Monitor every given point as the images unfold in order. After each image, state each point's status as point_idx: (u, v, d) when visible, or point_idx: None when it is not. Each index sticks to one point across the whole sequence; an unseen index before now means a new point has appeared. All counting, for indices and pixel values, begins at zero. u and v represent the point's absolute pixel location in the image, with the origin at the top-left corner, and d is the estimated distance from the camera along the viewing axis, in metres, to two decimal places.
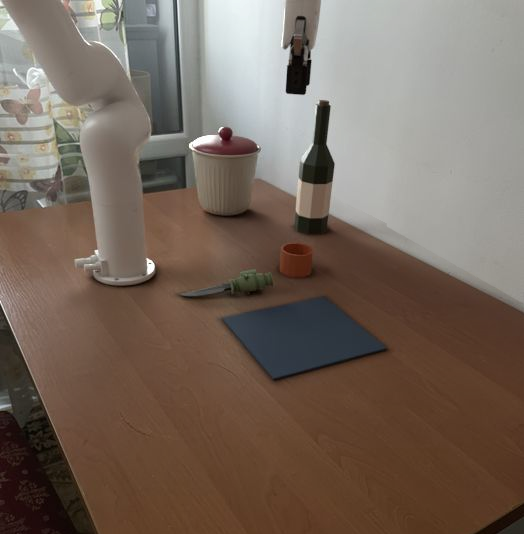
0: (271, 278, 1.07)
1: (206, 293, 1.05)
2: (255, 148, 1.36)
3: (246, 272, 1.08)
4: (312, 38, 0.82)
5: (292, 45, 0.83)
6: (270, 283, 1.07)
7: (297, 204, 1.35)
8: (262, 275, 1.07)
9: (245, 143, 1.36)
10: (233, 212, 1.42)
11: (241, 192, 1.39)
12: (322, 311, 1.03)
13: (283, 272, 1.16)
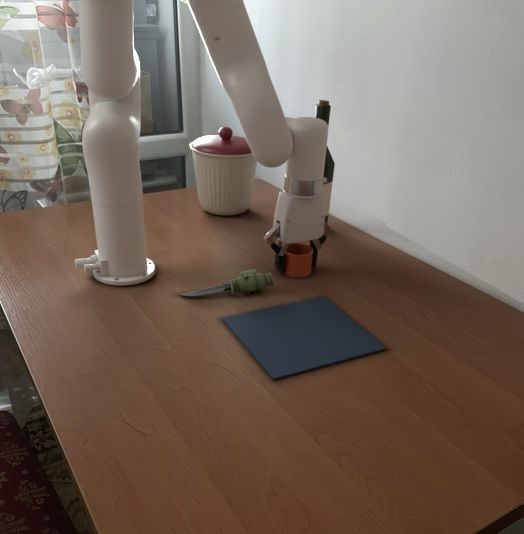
0: (271, 278, 1.07)
1: (206, 293, 1.05)
2: None
3: (246, 272, 1.08)
4: (283, 237, 1.10)
5: (279, 238, 1.13)
6: (270, 283, 1.07)
7: None
8: (262, 275, 1.07)
9: (245, 143, 1.36)
10: (233, 212, 1.42)
11: (241, 192, 1.39)
12: (322, 311, 1.03)
13: None
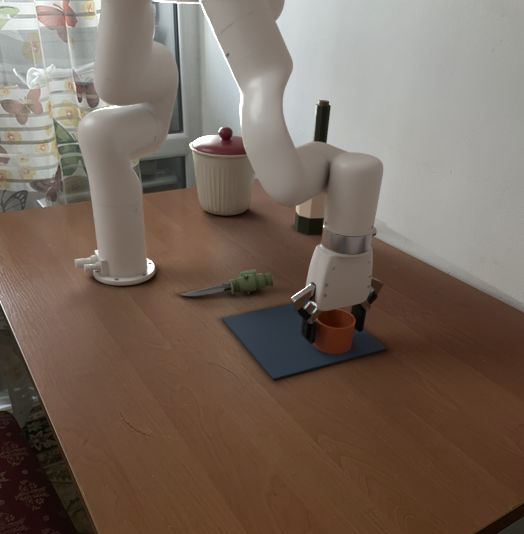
0: (271, 278, 1.07)
1: (206, 293, 1.05)
2: None
3: (246, 272, 1.08)
4: (320, 303, 0.85)
5: (310, 301, 0.88)
6: (270, 283, 1.07)
7: None
8: (262, 275, 1.07)
9: None
10: (233, 212, 1.42)
11: (241, 192, 1.39)
12: None
13: (317, 347, 0.92)
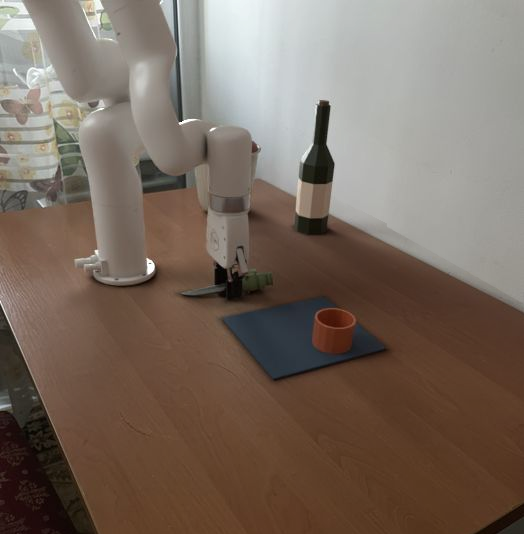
0: (271, 277, 1.07)
1: (206, 292, 1.06)
2: (255, 148, 1.36)
3: None
4: (248, 258, 1.00)
5: (230, 267, 1.01)
6: (270, 282, 1.08)
7: (297, 204, 1.35)
8: (262, 274, 1.07)
9: None
10: None
11: None
12: None
13: (317, 347, 0.92)
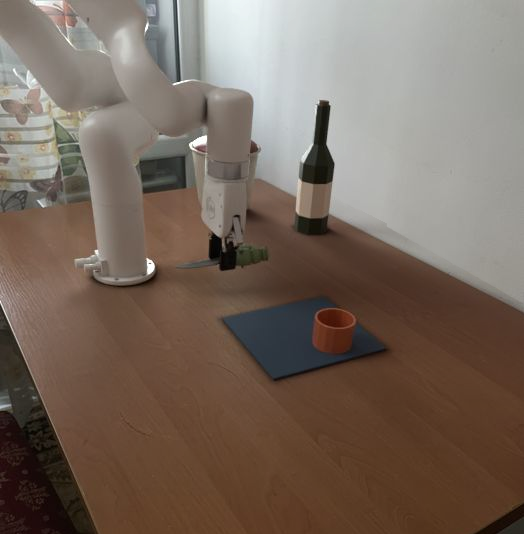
0: (266, 253, 1.05)
1: (199, 265, 1.03)
2: (255, 148, 1.36)
3: (241, 246, 1.06)
4: (244, 228, 0.97)
5: (225, 237, 0.98)
6: (265, 258, 1.05)
7: (297, 204, 1.35)
8: (257, 249, 1.05)
9: None
10: None
11: None
12: None
13: (317, 347, 0.92)
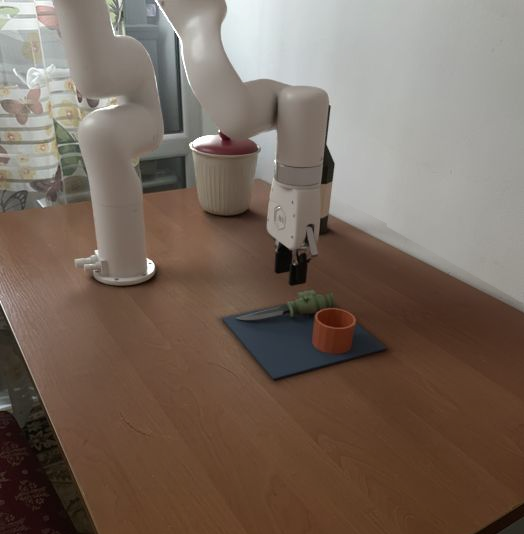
0: (332, 300, 1.00)
1: (264, 317, 0.98)
2: (255, 148, 1.36)
3: (305, 293, 1.01)
4: None
5: (297, 249, 0.90)
6: (331, 305, 1.00)
7: None
8: (322, 297, 1.00)
9: (245, 143, 1.36)
10: (233, 212, 1.42)
11: (241, 192, 1.39)
12: None
13: (317, 347, 0.92)
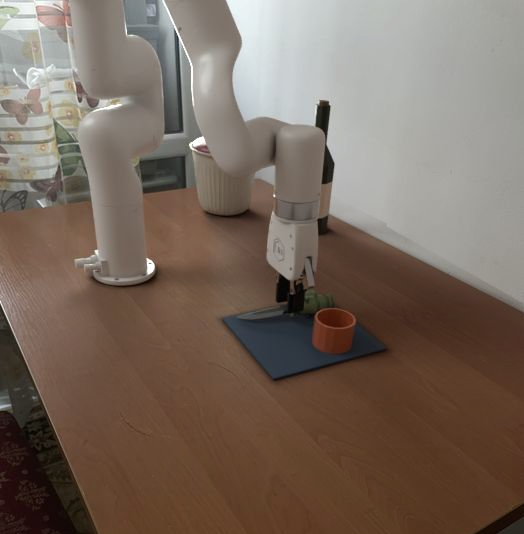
0: (333, 300, 1.00)
1: (264, 316, 0.98)
2: None
3: (305, 293, 1.01)
4: None
5: (295, 279, 0.93)
6: (331, 306, 1.00)
7: None
8: (323, 297, 1.00)
9: None
10: (233, 212, 1.42)
11: (241, 192, 1.39)
12: None
13: (317, 347, 0.92)
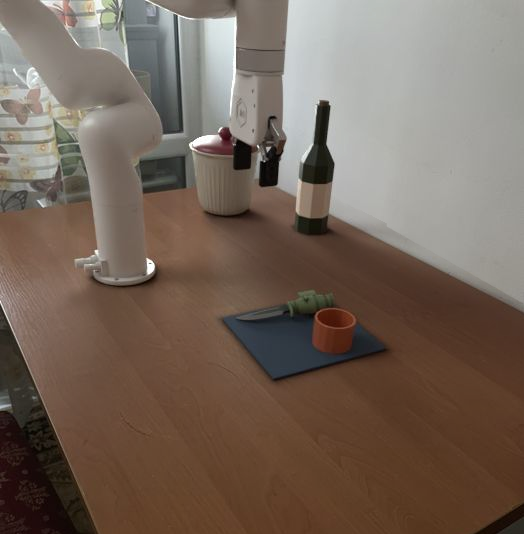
0: (332, 300, 1.00)
1: (264, 317, 0.98)
2: (255, 148, 1.36)
3: (304, 293, 1.01)
4: None
5: (263, 142, 0.84)
6: (331, 305, 1.00)
7: (297, 204, 1.35)
8: (322, 297, 1.00)
9: None
10: (233, 212, 1.42)
11: (241, 192, 1.39)
12: None
13: (317, 347, 0.92)
